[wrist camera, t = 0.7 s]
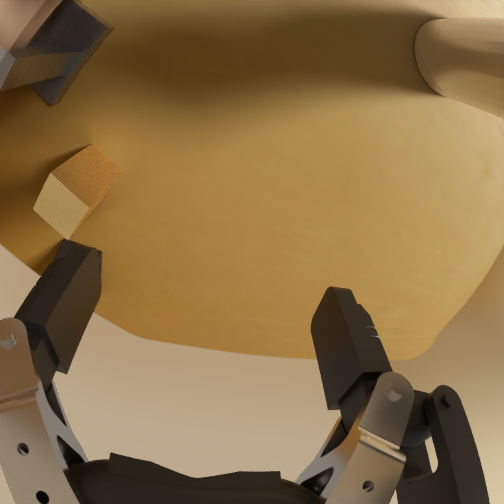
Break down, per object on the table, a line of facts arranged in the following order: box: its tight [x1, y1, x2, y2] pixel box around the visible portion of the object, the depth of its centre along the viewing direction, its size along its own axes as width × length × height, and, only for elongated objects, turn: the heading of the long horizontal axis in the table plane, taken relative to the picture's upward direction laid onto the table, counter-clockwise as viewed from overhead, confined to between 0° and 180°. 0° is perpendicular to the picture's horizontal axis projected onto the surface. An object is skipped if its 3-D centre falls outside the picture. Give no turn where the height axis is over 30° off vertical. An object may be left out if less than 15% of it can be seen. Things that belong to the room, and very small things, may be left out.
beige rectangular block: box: [33, 144, 123, 240], centre depth 25 cm, size 5×5×8 cm
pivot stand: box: [0, 0, 114, 106], centre depth 12 cm, size 10×18×11 cm, turn 41°
